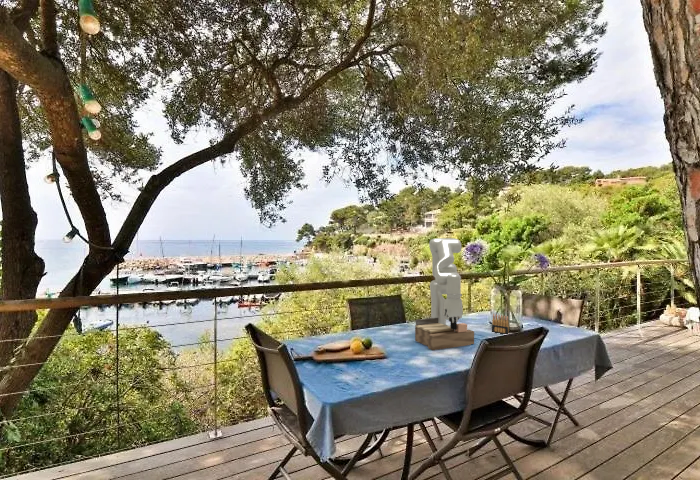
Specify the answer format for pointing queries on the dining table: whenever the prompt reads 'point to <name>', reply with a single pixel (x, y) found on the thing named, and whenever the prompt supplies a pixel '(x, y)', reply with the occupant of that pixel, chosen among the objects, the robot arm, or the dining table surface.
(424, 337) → the toolbox
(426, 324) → the toolbox lid
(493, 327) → the ammunition clip
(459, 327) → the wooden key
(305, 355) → the dining table surface
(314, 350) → the dining table surface
